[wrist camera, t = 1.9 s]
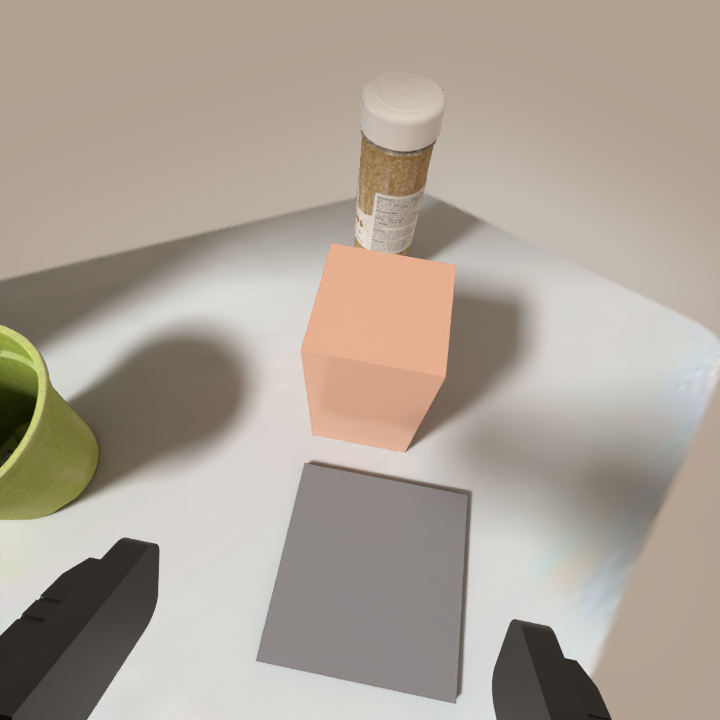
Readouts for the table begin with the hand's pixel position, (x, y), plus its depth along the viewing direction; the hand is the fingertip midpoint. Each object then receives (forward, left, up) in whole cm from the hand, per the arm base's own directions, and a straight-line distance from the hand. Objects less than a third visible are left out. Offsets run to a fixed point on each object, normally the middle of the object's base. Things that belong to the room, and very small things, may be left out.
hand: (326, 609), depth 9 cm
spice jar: (-1, +24, -15) cm, 28 cm away
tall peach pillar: (0, +12, -15) cm, 19 cm away
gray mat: (+2, +2, -15) cm, 15 cm away
